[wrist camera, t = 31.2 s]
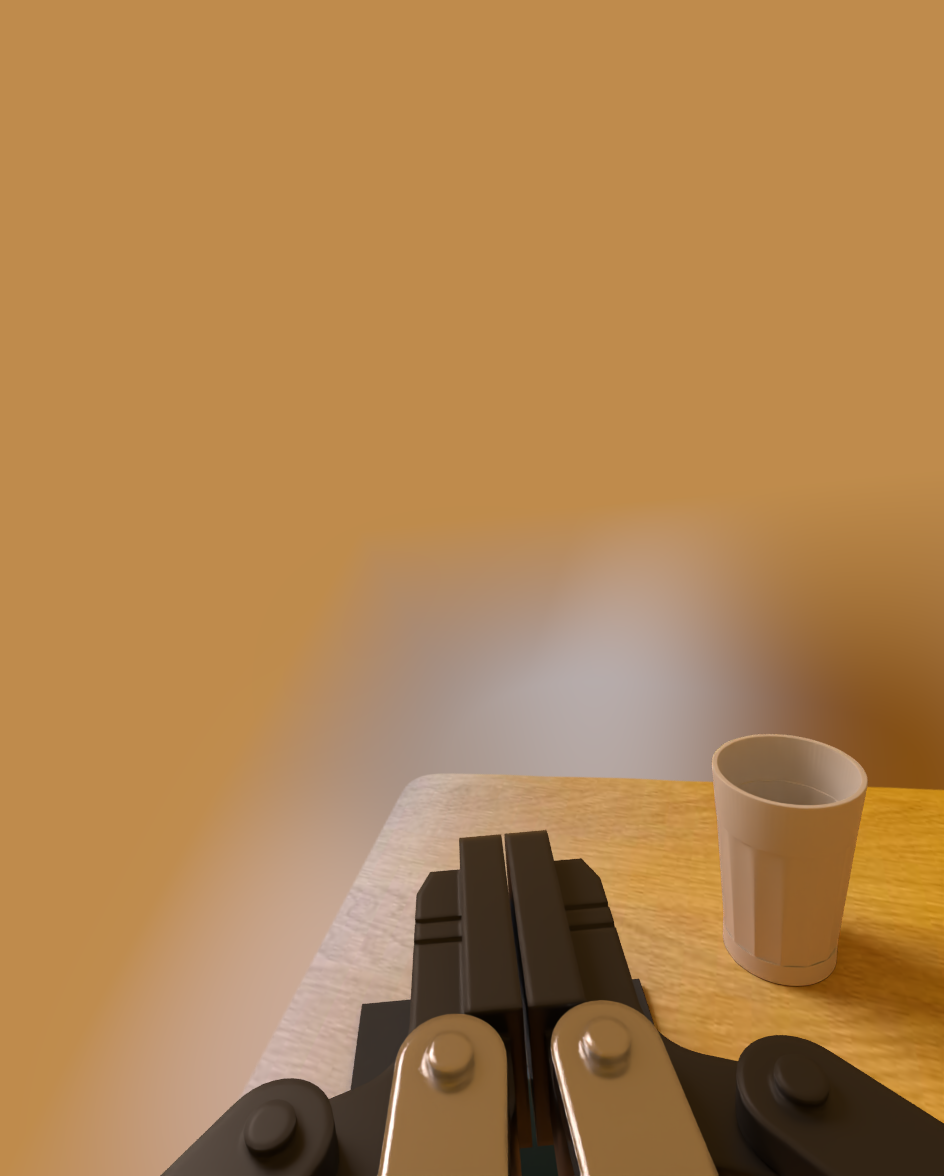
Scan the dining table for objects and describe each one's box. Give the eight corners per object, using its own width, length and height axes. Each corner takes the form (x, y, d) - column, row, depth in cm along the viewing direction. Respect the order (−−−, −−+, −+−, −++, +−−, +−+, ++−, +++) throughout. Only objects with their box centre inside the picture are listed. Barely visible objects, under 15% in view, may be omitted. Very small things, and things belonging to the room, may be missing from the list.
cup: (681, 926, 46) (682, 757, 42) (774, 883, 49) (781, 722, 45) (783, 1020, 39) (793, 826, 35) (883, 962, 42) (902, 778, 38)
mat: (304, 1458, 24) (302, 1451, 24) (362, 1009, 41) (362, 1003, 41) (777, 1411, 24) (777, 1403, 24) (639, 983, 42) (639, 978, 42)
